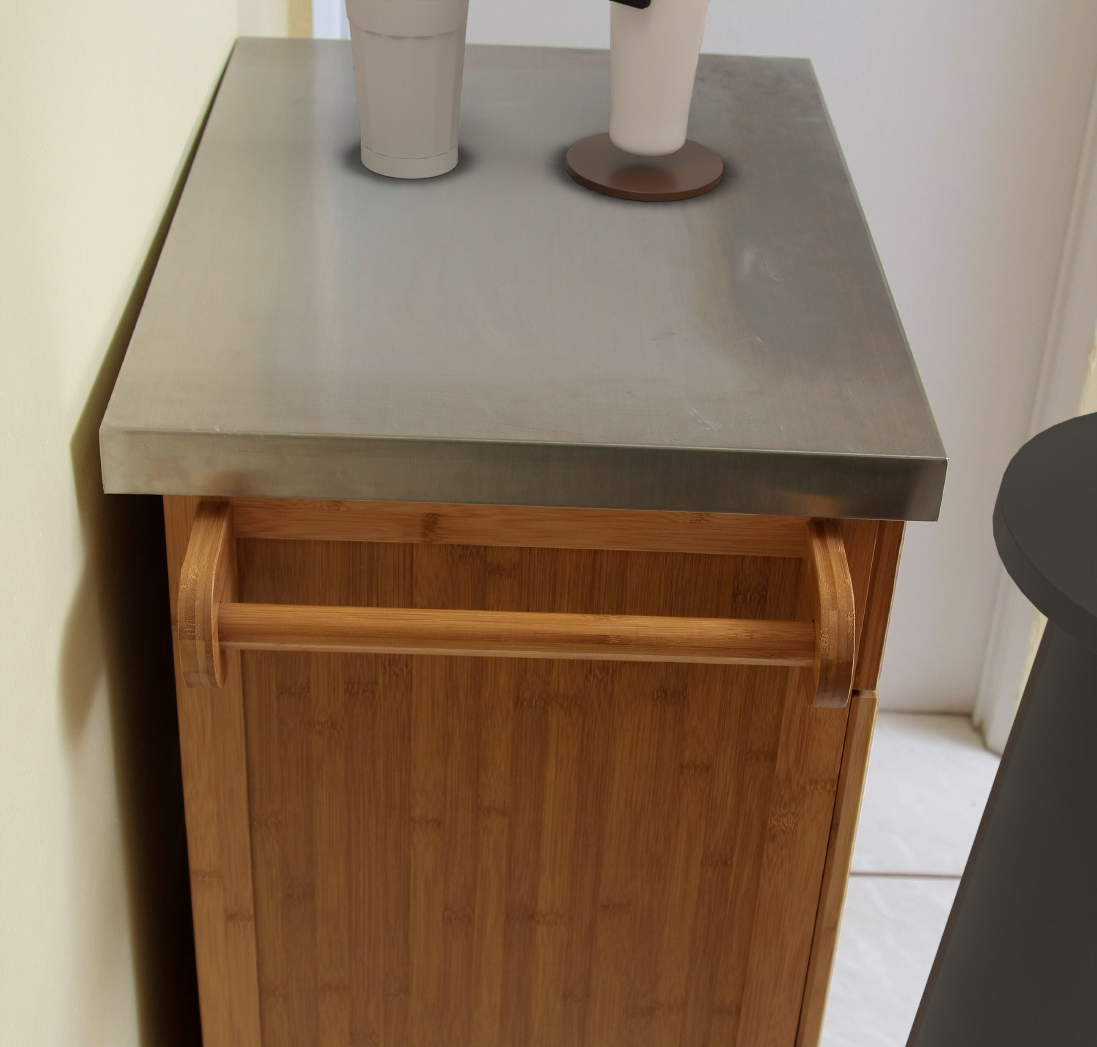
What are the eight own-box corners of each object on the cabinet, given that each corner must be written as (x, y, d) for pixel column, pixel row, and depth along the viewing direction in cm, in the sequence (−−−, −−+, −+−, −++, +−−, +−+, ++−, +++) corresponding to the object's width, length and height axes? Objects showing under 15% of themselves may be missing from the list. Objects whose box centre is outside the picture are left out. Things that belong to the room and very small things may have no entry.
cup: (384, 127, 112) (379, -66, 103) (490, 150, 110) (493, -46, 101) (326, 168, 106) (315, -34, 97) (437, 192, 104) (435, -11, 95)
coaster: (751, 167, 110) (752, 159, 109) (665, 215, 103) (666, 206, 102) (624, 126, 114) (625, 118, 114) (534, 170, 107) (534, 161, 107)
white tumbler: (715, 153, 107) (743, -88, 97) (636, 171, 104) (656, -76, 94) (656, 120, 111) (677, -115, 101) (578, 136, 108) (592, -104, 98)
